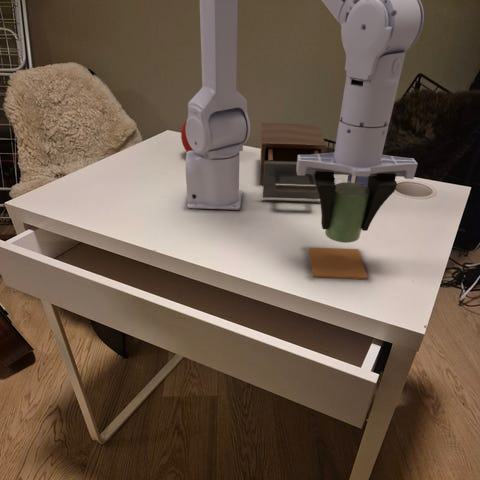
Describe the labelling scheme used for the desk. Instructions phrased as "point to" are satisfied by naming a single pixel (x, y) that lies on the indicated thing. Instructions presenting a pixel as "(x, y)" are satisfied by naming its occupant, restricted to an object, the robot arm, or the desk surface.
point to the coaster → (337, 263)
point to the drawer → (287, 175)
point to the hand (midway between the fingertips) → (343, 226)
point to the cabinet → (289, 139)
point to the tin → (347, 212)
